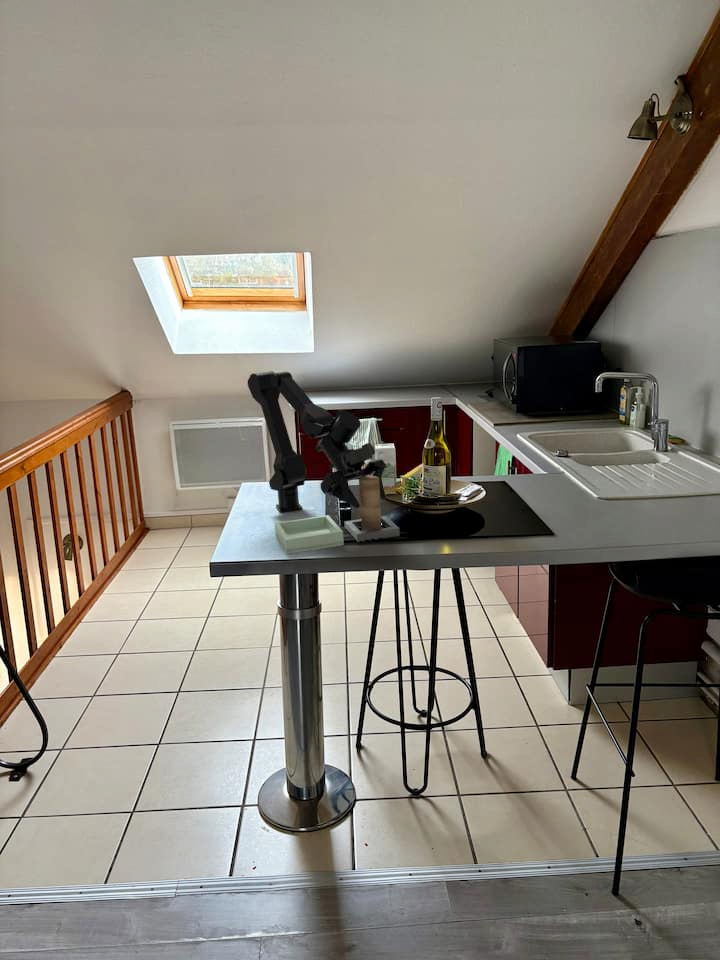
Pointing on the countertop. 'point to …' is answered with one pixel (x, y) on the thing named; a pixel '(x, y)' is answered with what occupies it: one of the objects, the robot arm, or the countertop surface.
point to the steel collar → (386, 532)
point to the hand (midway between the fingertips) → (371, 502)
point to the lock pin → (370, 503)
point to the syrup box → (387, 463)
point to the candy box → (412, 474)
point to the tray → (308, 534)
